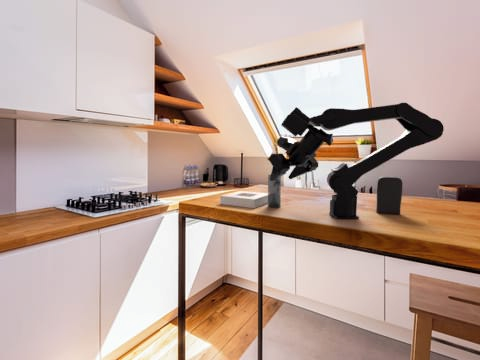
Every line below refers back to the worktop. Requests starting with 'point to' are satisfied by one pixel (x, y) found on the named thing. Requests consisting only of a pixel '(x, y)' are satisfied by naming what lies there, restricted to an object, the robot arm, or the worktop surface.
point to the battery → (389, 195)
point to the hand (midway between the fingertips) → (280, 179)
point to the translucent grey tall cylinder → (274, 192)
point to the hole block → (245, 199)
